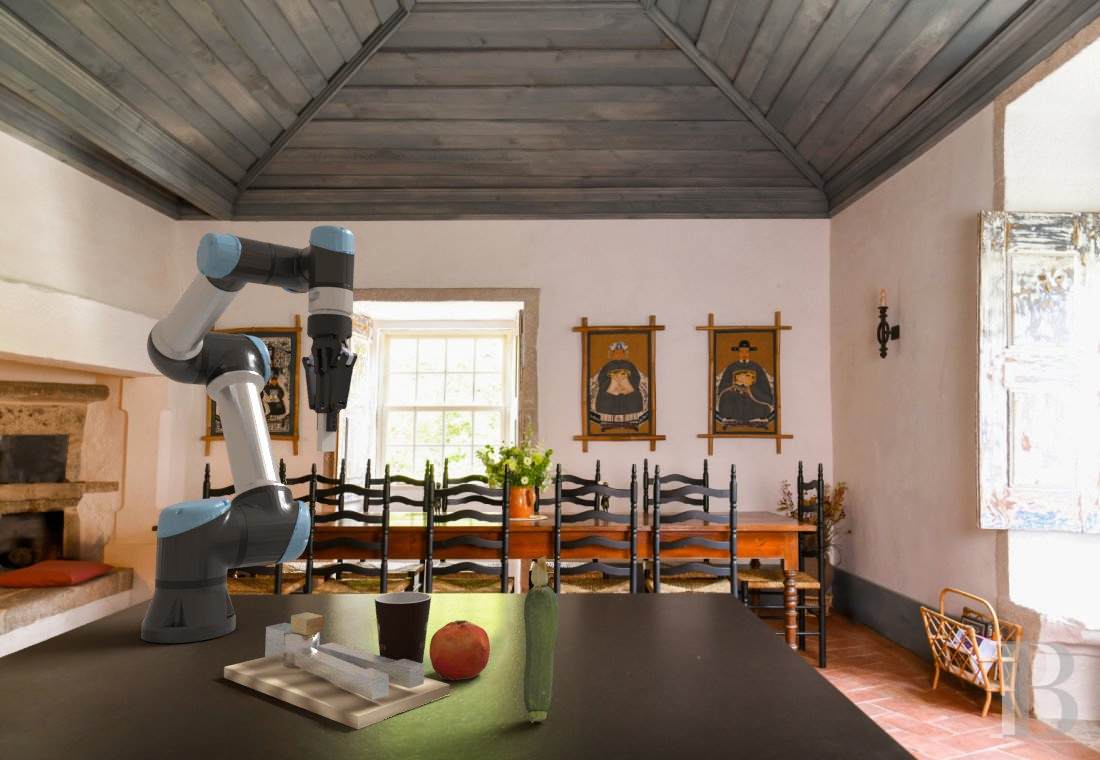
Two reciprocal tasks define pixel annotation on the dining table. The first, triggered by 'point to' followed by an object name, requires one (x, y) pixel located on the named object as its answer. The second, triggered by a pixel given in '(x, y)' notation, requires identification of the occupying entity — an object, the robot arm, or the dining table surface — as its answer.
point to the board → (330, 692)
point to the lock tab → (307, 623)
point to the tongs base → (339, 655)
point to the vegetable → (539, 642)
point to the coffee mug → (402, 624)
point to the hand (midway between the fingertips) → (326, 451)
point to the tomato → (459, 650)
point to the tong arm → (344, 673)
